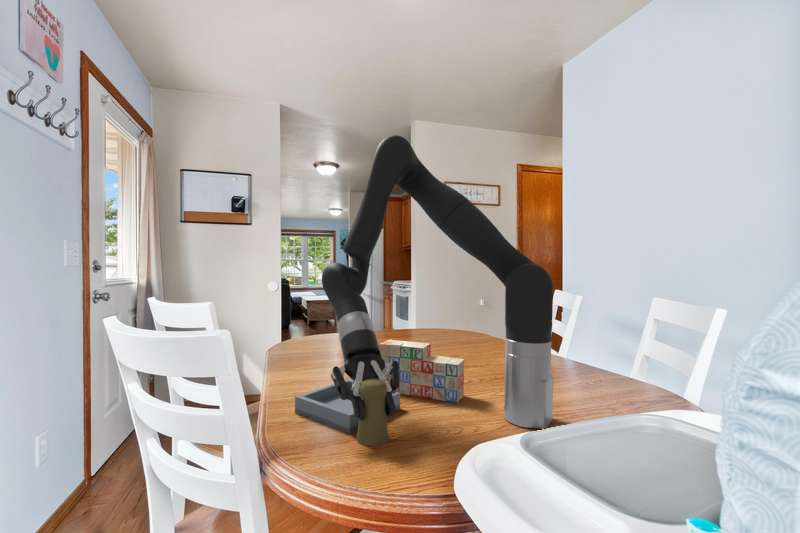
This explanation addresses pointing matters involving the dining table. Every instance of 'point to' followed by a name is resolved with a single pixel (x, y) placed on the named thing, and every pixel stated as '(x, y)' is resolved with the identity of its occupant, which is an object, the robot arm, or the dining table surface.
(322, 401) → the tray
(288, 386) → the dining table surface
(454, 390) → the stack of blocks
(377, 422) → the cork
